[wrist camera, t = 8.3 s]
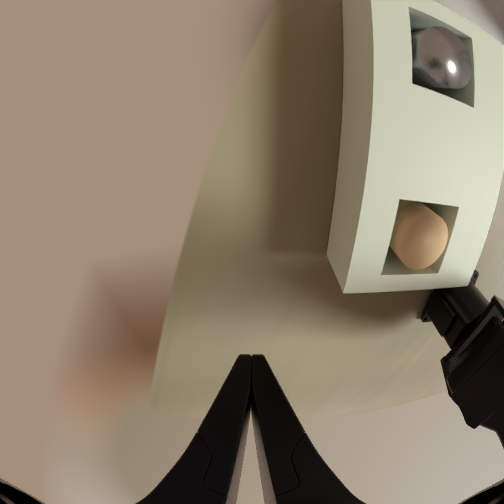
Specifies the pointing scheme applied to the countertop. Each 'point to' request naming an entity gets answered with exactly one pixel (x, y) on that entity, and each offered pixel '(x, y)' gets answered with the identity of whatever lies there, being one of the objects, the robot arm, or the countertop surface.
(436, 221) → the oak peg
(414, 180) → the socket block
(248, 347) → the countertop surface
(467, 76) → the steel peg
